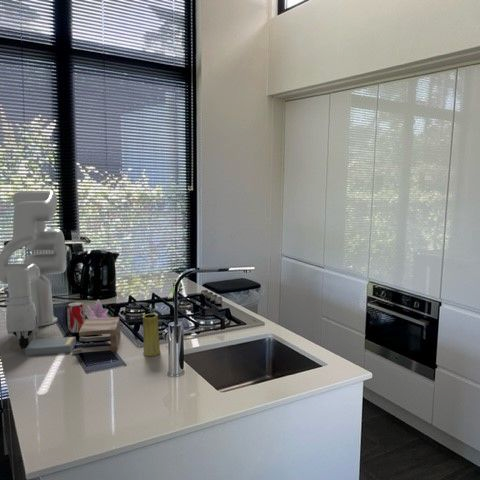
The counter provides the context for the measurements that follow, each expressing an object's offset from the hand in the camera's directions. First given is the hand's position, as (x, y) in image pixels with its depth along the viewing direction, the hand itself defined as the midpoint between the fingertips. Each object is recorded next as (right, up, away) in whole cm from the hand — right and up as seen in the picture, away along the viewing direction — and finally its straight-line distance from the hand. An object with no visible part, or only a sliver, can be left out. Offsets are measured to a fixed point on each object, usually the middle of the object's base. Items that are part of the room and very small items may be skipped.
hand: (24, 347), depth 171 cm
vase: (+49, -1, -5) cm, 49 cm away
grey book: (+9, -1, +2) cm, 10 cm away
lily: (+18, +3, +32) cm, 37 cm away
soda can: (+12, +2, +22) cm, 25 cm away
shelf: (+26, 0, +4) cm, 27 cm away
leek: (+45, +10, +83) cm, 95 cm away
